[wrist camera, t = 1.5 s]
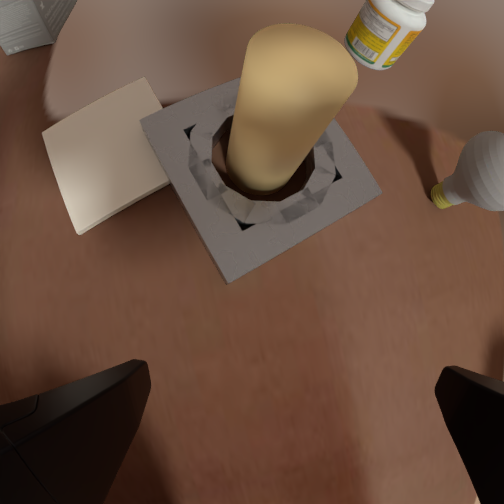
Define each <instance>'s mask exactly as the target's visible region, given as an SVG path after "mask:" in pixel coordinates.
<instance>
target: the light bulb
mask: <svg viewBox="0 0 504 504" xmlns="http://www.w3.org/2000/svg"><path fill="white" fill-rule="evenodd" d="M431 198H432V201H433V202H434V204H435V205H436V206H437V207H438V208H441V209H445V208H447V207H449V206H452V205H458V204H460V203H462V202H469V203H472V204H474V205H477V206H479V207H481V208H484V209H487V210H490V211H504V134H503V133H501V132H497V131H487V132H481V133H479V134H477V135H476V136H474V137H472V138H471V139H470V140H469V141H468V142H467V144H466V145H465V146H464V148H463V150H462V152H461V155H460V157H459V160H458V163H457V166H456V169H455V171H454V173H453V174H452V175H451V176H449V177H447V178H445V179H444V181H442V182H441V183H438V184H436V185H435V186H434V187H433V188H432V190H431Z"/></svg>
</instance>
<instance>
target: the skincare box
mask: <svg viewBox="0 0 504 504" xmlns="http://www.w3.org/2000/svg"><path fill="white" fill-rule="evenodd" d="M76 2H77V0H0V46H1V47H2V49H3V50H4V52H5V53H6V55H10V54H14V53H17V52H20V51H23V50H27V49H30V48H34V47H38V46H42V45H47V44H53V43H55V42H56V40H57V37H58V35H59V33H60V30H61V29H62V27H63V25H64V23H65V21H66V20H67V18H68V16H69V15H70V13H71V11H72V9H73V7H74V5H75V4H76Z"/></svg>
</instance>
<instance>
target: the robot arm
mask: <svg viewBox="0 0 504 504" xmlns="http://www.w3.org/2000/svg"><path fill="white" fill-rule="evenodd" d="M150 389H151V380H150V375H149V369H148V364H147V362H146V361H143V360H137V359H133V360H130V361H128V362H125V363H122V364H120V365H117V366H115V367H112V368H109V369H107V370H104V371H102V372H99V373H96V374H94V375H91V376H88V377H86V378H83V379H80V380H77V381H75V382H72V383H69V384H66V385H63V386H61V387H58V388H55V389H52V390H49V391H46V392H43V393H41V394H39V395H38V394H36V395H33V396H30V397H27V398H24V399H21V400H18V401H14V402H11V403H7V404H3V405H0V504H103V503H104V501H105V498H106V496H107V494H108V492H109V490H110V487H111V485H112V483H113V481H114V479H115V476H116V474H117V472H118V470H119V468H120V466H121V464H122V461H123V459H124V457H125V455H126V453H127V451H128V449H129V446H130V444H131V442H132V440H133V438H134V436H135V434H136V432H137V429H138V427H139V424H140V421H141V418H142V415H143V412H144V409H145V406H146V402H147V399H148V396H149V393H150ZM435 396H436V398H437V401H438V404H439V406H440V409H441V412H442V415H443V418H444V421H445V423H446V426H447V428H448V430H449V433H450V435H451V437H452V439H453V441H454V443H455V445H456V447H457V450H458V452H459V454H460V456H461V458H462V461H463V463H464V465H465V467H466V470H467V472H468V474H469V476H470V479H471V481H472V484H473V486H474V488H475V491H476V493H477V496H478V498H479V501H480V503H481V504H504V382H502V381H499V380H496V379H493V378H490V377H487V376H484V375H481V374H478V373H475V372H472V371H470V370H467V369H464V368H461V367H458V366H446V367H444V368H443V370H442V372H441V374H440V377H439V379H438V381H437V383H436V386H435Z"/></svg>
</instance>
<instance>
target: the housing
mask: <svg viewBox="0 0 504 504" xmlns="http://www.w3.org/2000/svg"><path fill="white" fill-rule="evenodd" d="M240 79H241V77H240V78H237V79H234V80H231V81H229V82H226V83H224V84H221V85H218V86H215V87H213V88H210V89H208V90H205V91H203V92H200V93H198V94H195V95H193V96H191V97H188V98H186V99H183V100H181V101H179V102H177V103H174V104H172V105H170V106H168V107H165V108H163V109H161V110H159V111H157V112H155V113H153V114H151V115H148V116H146V117H144V118H142V119H140V120H139V121H140V124H141V127H142V130H143V132H144V134H145V136H146V138H147V140H148V142H149V144H150V146H151V148H152V150H153V151H154V153H155V155H156V157H157V159H158V161H159V163H160V165H161V167H162V169H163V170H164V172H165V174H166V176H167V178H168V180H169V183H170V185H171V187H172V189H173V191H174V192H175V194H176V196H177V198H178V200H179V202H180V204H181V205H182V207H183V209H184V211H185V213H186V215H187V216H188V218H189V220H190V222H191V224H192V225H193V227H194V229H195V231H196V233H197V234H198V236H199V238H200V240H201V242H202V243H203V245H204V247H205V249H206V251H207V252H208V254H209V256H210V258H211V259H212V261H213V263H214V265H215V266H216V268H217V270H218V272H219V273H220V275H221V277H222V279H223V280H224V282H225V284H226V285H227V284H229V283H231V282H232V281H234V280H236V279H237V278H239V277H241V276H243V275H244V274H246V273H248V272H250V271H251V270H253V269H255V268H257V267H258V266H260V265H262V264H263V263H265V262H267V261H269V260H270V259H272V258H274V257H275V256H277V255H279V254H281V253H282V252H284V251H286V250H287V249H289V248H291V247H293V246H294V245H296V244H298V243H299V242H301V241H303V240H305V239H306V238H308V237H310V236H311V235H313V234H315V233H316V232H318V231H320V230H322V229H323V228H325V227H327V226H328V225H330V224H332V223H333V222H335V221H337V220H338V219H340V218H342V217H344V216H345V215H347V214H349V213H350V212H352V211H354V210H355V209H357V208H359V207H360V206H362V205H364V204H365V203H367V202H369V201H370V200H372V199H374V198H375V197H377V196H379V195H380V194H382V191H381V189H380V188H379V186H378V184H377V183H376V181H375V179H374V178H373V176H372V174H371V173H370V171H369V170H368V168H367V166H366V165H365V163H364V162H363V160H362V159H361V157H360V156H359V154H358V152H357V151H356V149H355V148H354V146H353V145H352V143H351V142H350V140H349V139H348V137H347V136H346V134H345V133H344V132H343V130H342V129H341V127H340V126H339V124H338V123H337V122H336V120H335V119H334V118H333V120H332V121H331V123H330V124H329V125H328V127H327V128H326V129H325V131H324V132H323V134H322V135H321V136H320V138H319V139H318V141H317V142H316V143H315V145H314V146H313V147H312V149H311V150H310V152H309V153H308V154H307V156H306V157H305V168H306V180H305V182H304V184H303V185H302V187H301V189H300V191H299V192H297V193H296V194H294V195H292V196H290V197H288V198H286V199H284V200H282V201H280V202H276V201H251V200H249V199H247V198H246V197H244V196H242V195H241V194H239V193H237V192H235V191H234V190H232V189H230V188H228V187H227V186H225V184H224V183H223V181H222V179H221V178H220V176H219V174H218V172H217V171H216V169H215V167H214V166H213V164H212V162H211V158H212V149H213V148H214V146H215V145H216V144H217V142H218V141H219V139H220V138H221V137H222V135H223V134H224V132H226V131H228V130H230V129H231V128H232V122H233V117H234V111H235V106H236V100H237V95H238V90H239V85H240ZM241 228H242V230H244V231H242V230H241Z"/></svg>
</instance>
